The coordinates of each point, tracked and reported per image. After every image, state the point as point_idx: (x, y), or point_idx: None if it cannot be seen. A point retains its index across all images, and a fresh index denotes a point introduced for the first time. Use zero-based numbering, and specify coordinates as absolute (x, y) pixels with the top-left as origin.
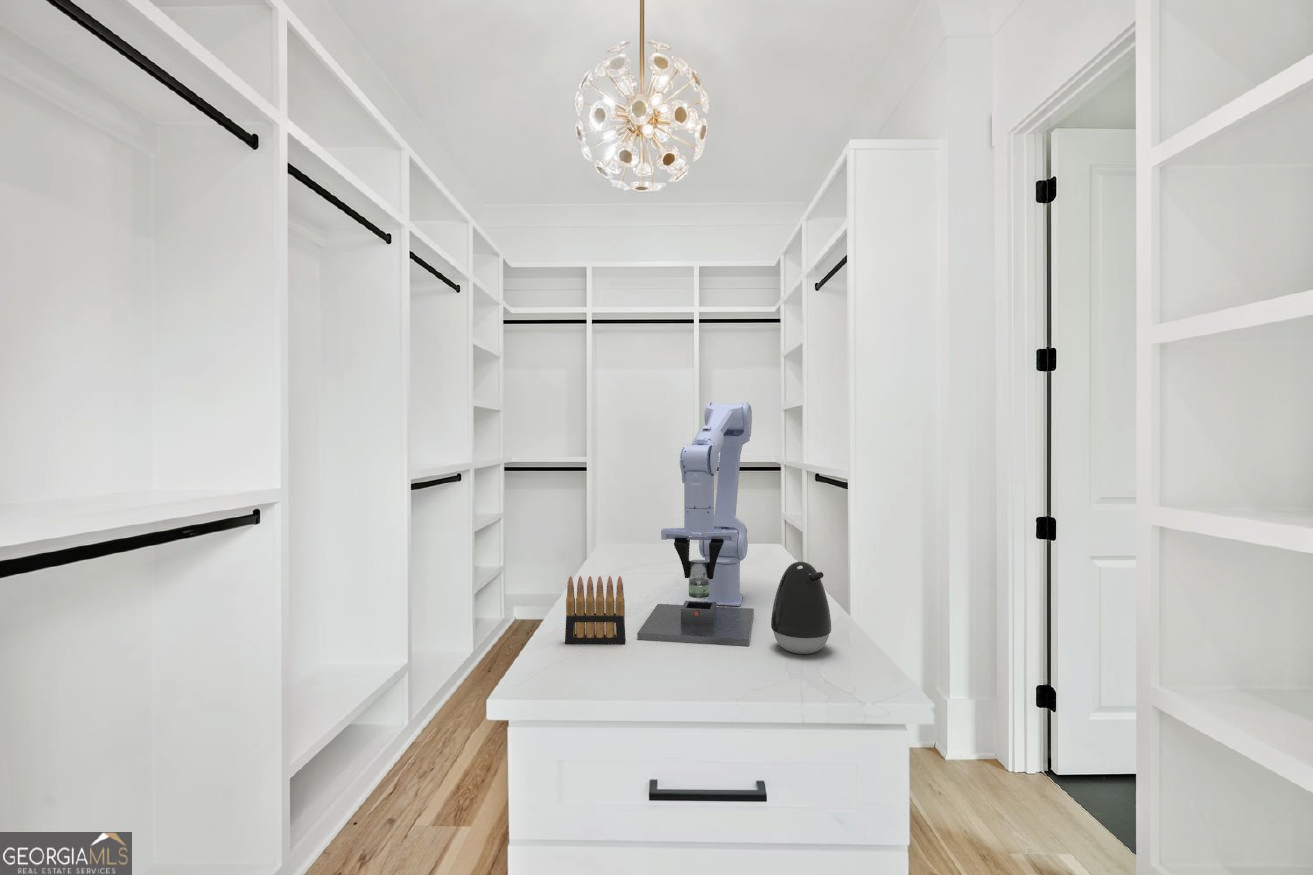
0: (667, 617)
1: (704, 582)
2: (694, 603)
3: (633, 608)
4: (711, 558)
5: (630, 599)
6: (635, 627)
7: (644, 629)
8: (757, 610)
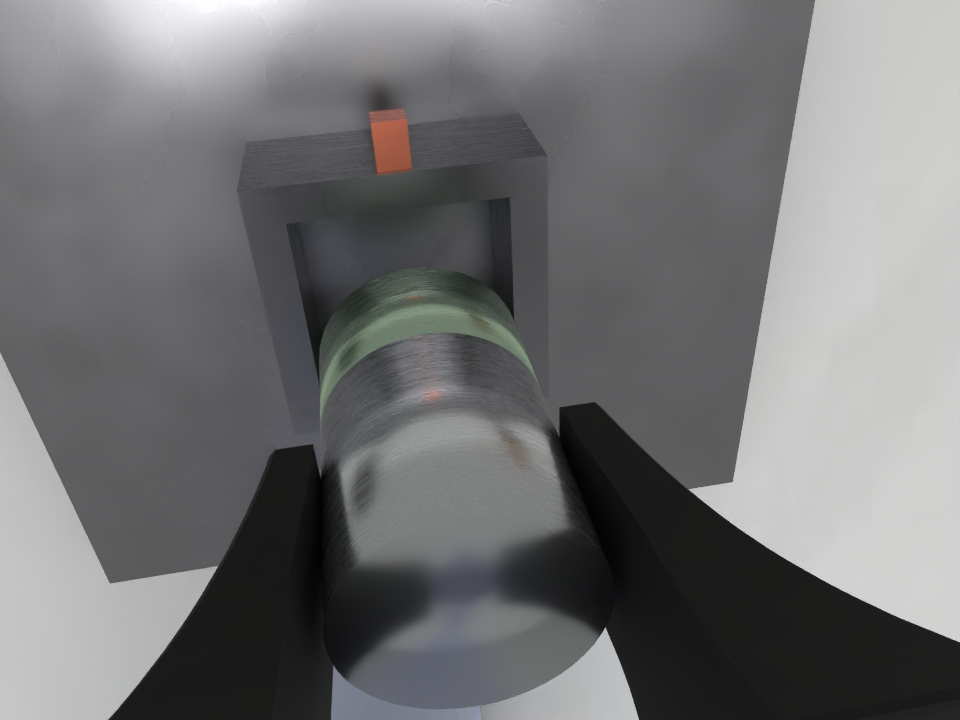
0: (642, 237)
1: (355, 387)
2: None
3: (858, 432)
4: (247, 636)
5: (873, 557)
6: (846, 66)
7: None
8: (126, 617)
